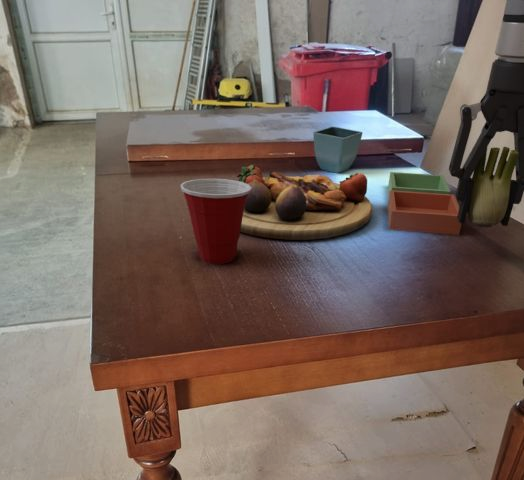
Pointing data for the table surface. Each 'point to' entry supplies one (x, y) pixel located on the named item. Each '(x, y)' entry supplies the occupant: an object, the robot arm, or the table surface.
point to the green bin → (418, 183)
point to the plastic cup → (216, 216)
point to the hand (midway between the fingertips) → (481, 221)
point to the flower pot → (336, 148)
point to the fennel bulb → (491, 187)
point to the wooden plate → (303, 205)
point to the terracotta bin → (423, 212)
